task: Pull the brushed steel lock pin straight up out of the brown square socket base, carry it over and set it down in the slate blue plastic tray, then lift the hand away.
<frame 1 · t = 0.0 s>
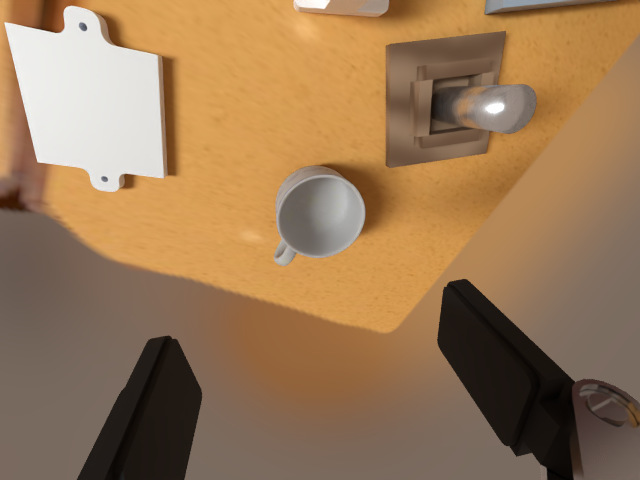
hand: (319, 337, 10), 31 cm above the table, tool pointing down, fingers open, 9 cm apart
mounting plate: (104, 109, 33), on the table
brown square socket base: (437, 104, 37), on the table
lock pin: (443, 104, 36), point 1 cm above the table, touching brown square socket base
teacup: (304, 204, 41), on the table
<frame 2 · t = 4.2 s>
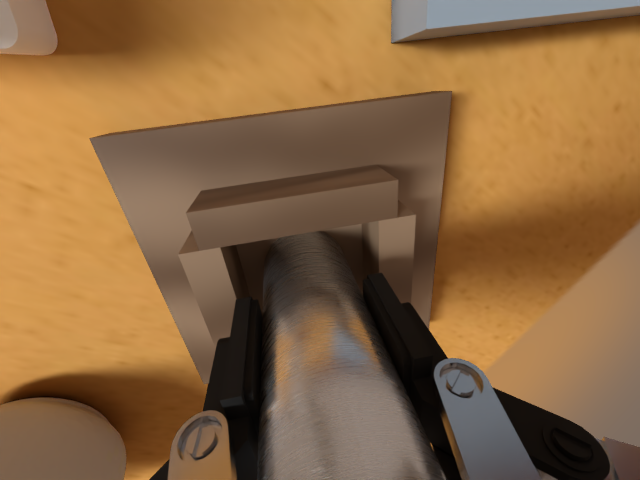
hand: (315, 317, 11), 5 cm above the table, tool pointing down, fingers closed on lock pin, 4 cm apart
brown square socket base: (301, 250, 16), on the table
lock pin: (304, 265, 14), point 1 cm above the table, touching gripper, brown square socket base
teacup: (46, 435, 19), on the table
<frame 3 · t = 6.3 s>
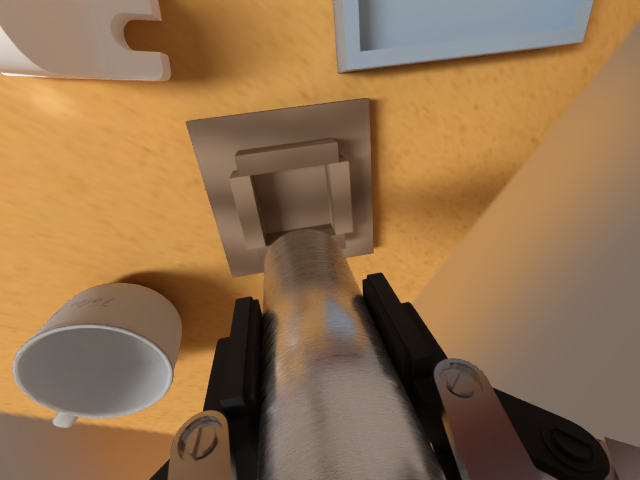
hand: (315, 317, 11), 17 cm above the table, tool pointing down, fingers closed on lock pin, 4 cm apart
cable organizer: (89, 35, 20), on the table
brown square socket base: (292, 192, 26), on the table
lock pin: (304, 265, 14), point 13 cm above the table, touching gripper
teacup: (128, 319, 30), on the table
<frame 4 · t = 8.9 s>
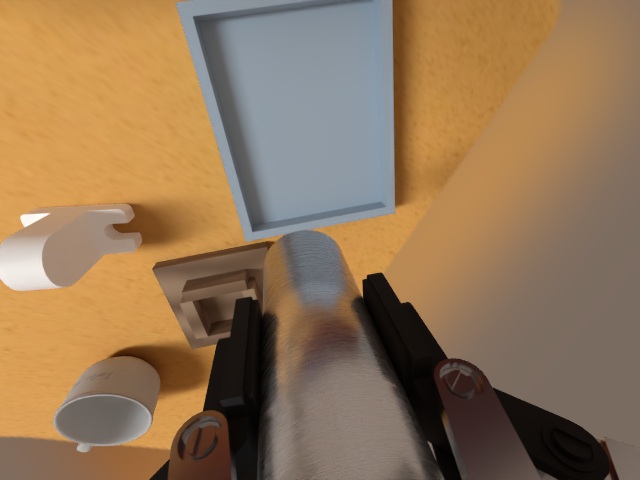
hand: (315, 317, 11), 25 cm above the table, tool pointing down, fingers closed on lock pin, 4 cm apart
tray: (304, 126, 31), on the table
cable organizer: (92, 226, 33), on the table
brown square socket base: (228, 294, 40), on the table
lock pin: (304, 266, 14), point 21 cm above the table, touching gripper
teacup: (124, 375, 44), on the table
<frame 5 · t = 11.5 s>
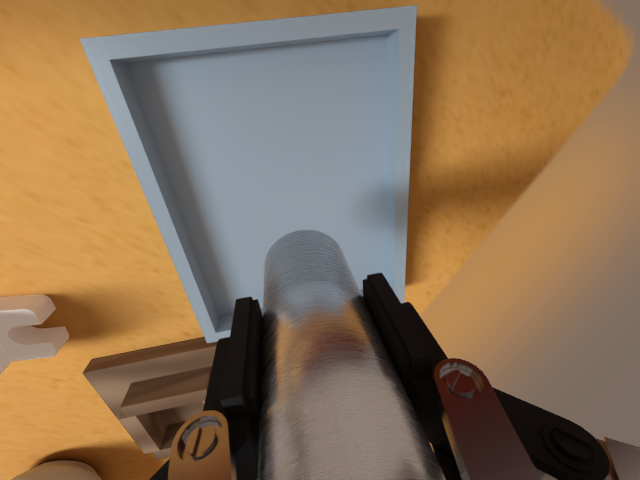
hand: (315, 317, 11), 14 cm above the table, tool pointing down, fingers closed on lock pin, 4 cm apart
tray: (287, 196, 23), on the table
brown square socket base: (189, 389, 31), on the table
lock pin: (304, 266, 14), point 10 cm above the table, touching gripper
teacup: (60, 477, 35), on the table
when the fingers open (6 cm above the table, at t = 13.7 s): lock pin drops 1 cm, resting on tray.
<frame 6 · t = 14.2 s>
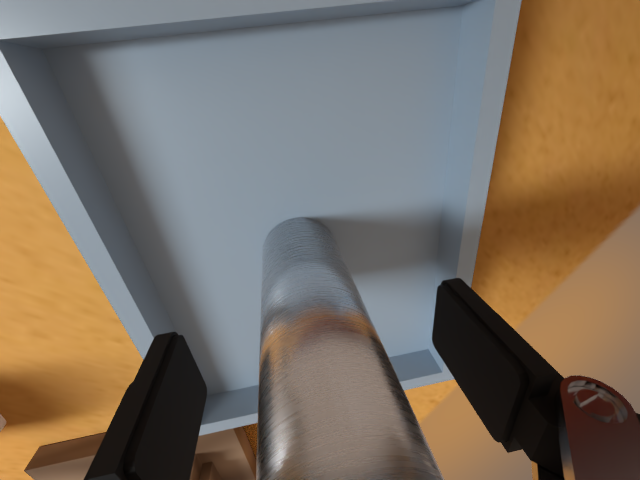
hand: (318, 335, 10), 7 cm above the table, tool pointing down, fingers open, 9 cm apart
tray: (300, 242, 17), on the table
brown square socket base: (172, 471, 25), on the table
lock pin: (299, 251, 16), point 1 cm above the table, touching tray
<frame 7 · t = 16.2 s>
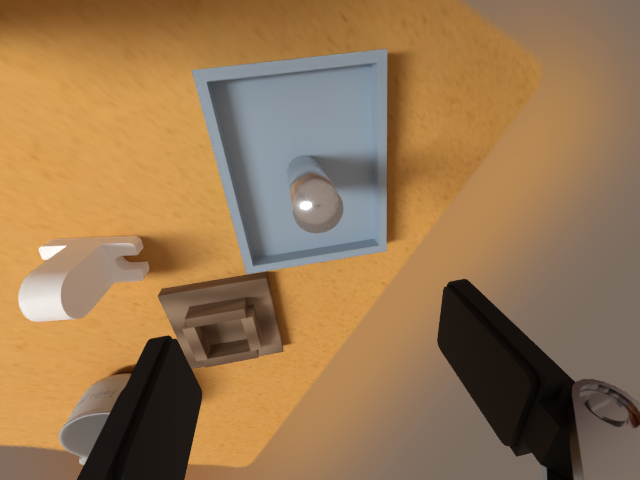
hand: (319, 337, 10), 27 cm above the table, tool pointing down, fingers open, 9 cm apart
tray: (304, 170, 34), on the table
cable organizer: (103, 255, 35), on the table
brown square socket base: (227, 319, 42), on the table
lock pin: (304, 173, 33), point 1 cm above the table, touching tray
teacup: (125, 390, 46), on the table
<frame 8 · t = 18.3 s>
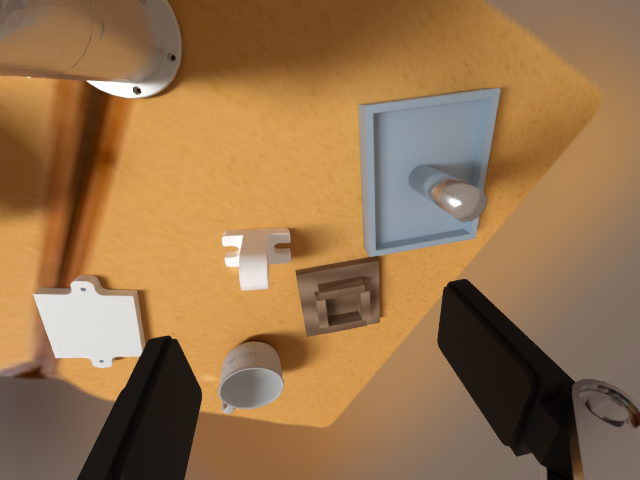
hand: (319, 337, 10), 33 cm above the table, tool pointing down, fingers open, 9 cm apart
tray: (418, 176, 44), on the table
cable organizer: (258, 243, 45), on the table
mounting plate: (99, 318, 47), on the table
brown square socket base: (339, 295, 52), on the table
lock pin: (421, 178, 43), point 1 cm above the table, touching tray
teacup: (248, 356, 56), on the table
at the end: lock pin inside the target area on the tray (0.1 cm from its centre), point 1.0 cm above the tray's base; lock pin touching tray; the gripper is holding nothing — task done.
